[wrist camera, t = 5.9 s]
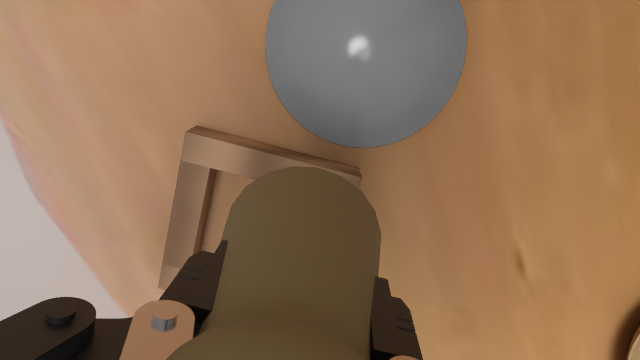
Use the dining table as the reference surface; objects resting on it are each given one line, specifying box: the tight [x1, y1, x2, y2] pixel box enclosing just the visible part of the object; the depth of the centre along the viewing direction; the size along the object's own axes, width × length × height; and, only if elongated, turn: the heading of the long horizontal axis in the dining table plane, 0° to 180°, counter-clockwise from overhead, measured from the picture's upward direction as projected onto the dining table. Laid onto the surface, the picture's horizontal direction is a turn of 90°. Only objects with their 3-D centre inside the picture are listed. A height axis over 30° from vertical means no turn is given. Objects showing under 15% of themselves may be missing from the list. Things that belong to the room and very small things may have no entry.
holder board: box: [158, 126, 362, 290], centre depth 31 cm, size 12×12×2 cm
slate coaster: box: [265, 0, 467, 148], centre depth 28 cm, size 13×13×1 cm
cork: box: [166, 166, 381, 360], centre depth 11 cm, size 6×6×11 cm
